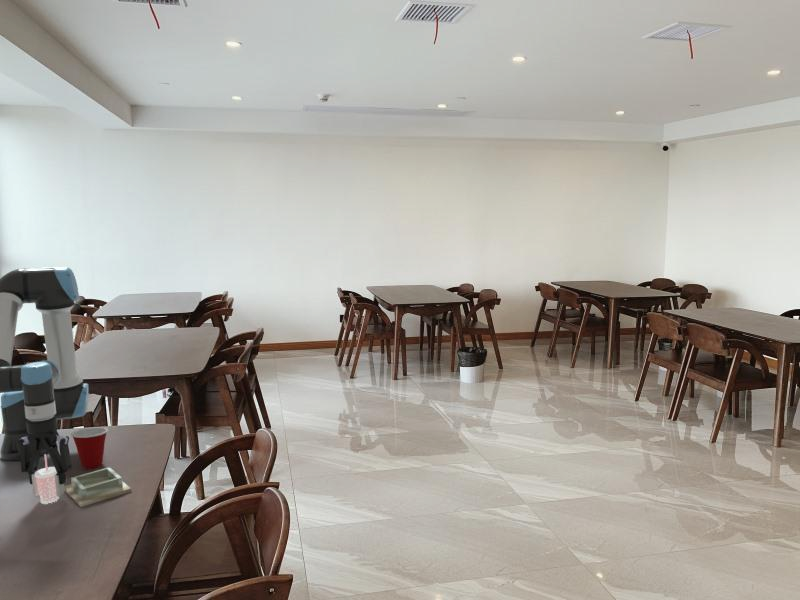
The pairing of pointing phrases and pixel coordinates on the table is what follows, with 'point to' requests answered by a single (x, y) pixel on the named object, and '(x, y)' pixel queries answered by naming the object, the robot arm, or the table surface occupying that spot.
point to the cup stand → (96, 486)
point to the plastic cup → (90, 446)
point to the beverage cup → (47, 484)
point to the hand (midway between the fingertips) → (49, 494)
